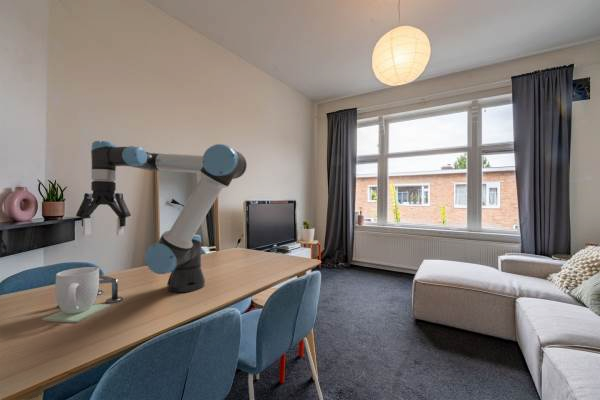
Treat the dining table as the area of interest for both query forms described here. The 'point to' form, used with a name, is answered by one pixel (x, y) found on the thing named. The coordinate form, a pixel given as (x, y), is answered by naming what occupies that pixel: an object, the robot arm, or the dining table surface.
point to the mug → (77, 289)
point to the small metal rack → (114, 282)
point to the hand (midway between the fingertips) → (103, 234)
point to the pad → (76, 314)
